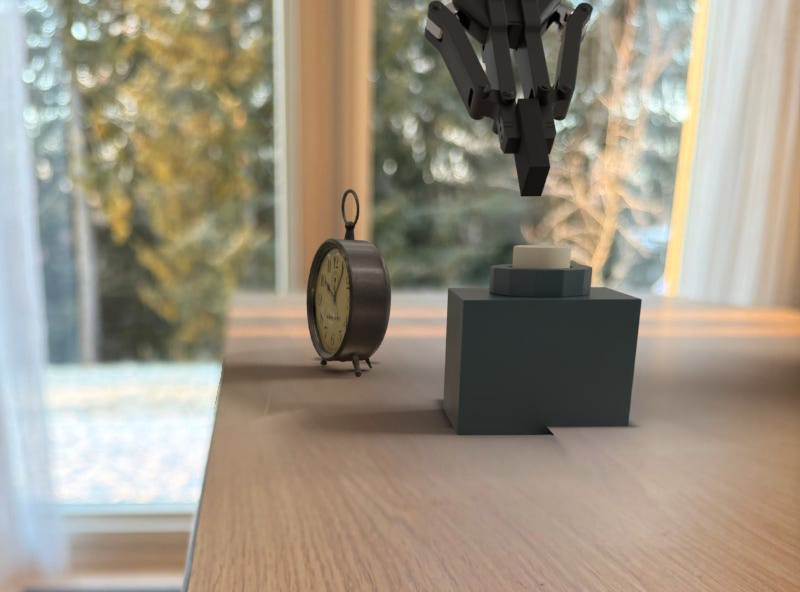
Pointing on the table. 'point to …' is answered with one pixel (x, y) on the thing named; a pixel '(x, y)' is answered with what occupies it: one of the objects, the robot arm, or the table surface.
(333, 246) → the alarm clock
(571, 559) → the table surface
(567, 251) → the lid button
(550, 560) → the table surface
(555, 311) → the block with cream knob
